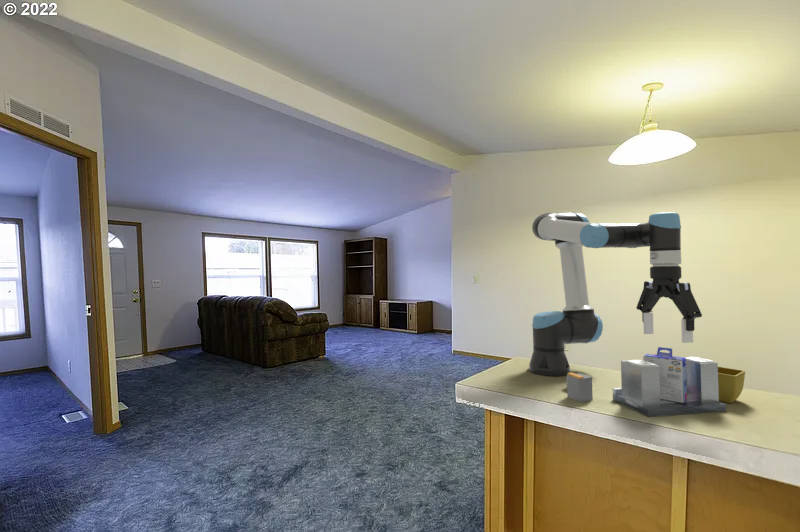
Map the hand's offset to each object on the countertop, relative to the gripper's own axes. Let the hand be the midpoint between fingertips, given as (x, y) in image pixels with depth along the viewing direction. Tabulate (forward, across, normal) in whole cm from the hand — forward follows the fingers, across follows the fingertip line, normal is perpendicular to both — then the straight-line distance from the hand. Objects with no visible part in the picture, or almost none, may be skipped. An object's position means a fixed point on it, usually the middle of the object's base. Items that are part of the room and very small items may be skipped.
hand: (666, 337), depth 110 cm
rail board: (+20, -1, 0) cm, 20 cm away
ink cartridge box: (+18, -1, 0) cm, 18 cm away
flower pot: (+20, -2, +20) cm, 28 cm away
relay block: (+20, -11, -21) cm, 31 cm away
